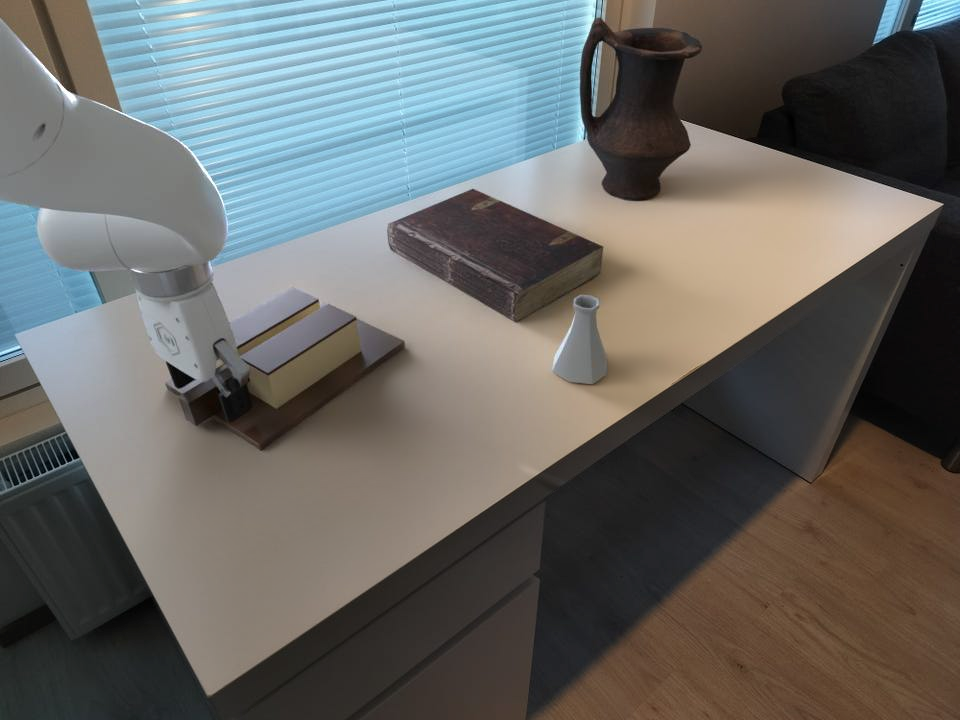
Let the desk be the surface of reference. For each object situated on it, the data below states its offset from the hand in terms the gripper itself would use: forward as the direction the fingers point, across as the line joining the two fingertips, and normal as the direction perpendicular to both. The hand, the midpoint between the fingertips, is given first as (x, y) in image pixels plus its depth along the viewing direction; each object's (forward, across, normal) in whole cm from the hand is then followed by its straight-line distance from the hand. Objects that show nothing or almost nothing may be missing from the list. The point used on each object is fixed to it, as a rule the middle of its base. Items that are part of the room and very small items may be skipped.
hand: (213, 398), depth 79 cm
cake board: (+2, 0, +11) cm, 11 cm away
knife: (+1, 0, +4) cm, 4 cm away
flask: (+3, +30, +33) cm, 45 cm away
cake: (+2, 0, +11) cm, 11 cm away
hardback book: (+3, +5, +48) cm, 48 cm away
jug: (+3, +9, +86) cm, 87 cm away
